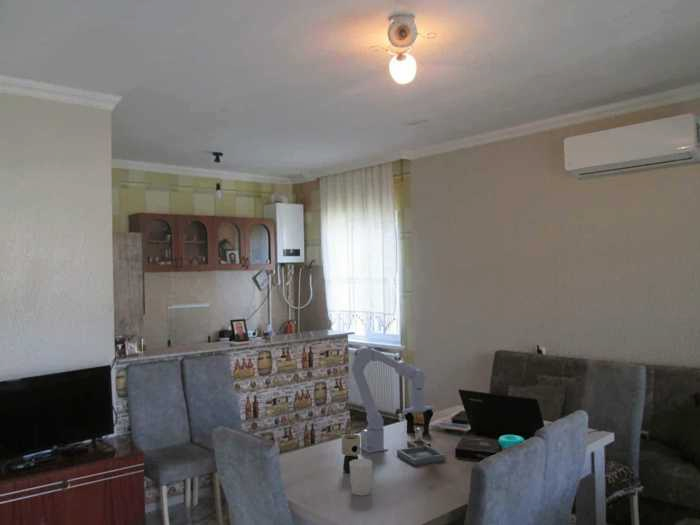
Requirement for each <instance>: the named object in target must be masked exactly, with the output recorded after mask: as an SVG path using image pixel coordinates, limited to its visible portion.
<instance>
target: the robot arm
mask: <svg viewBox="0 0 700 525" xmlns="http://www.w3.org/2000/svg"><path fill="white" fill-rule="evenodd" d="M353 354H354V355H353V359H352V364H351V372H352V375H353V378H354V381H355V383H356V386H357V388H358V392H359V394H360V397H361V400H362V402H363V405H364V409H365V412H366V421H367V422H368V424H367V425H366V428H365V429H362V430H361V432H360V450H363V451H364V452H366V453H367V454H370V453H371V454H372V453H377V452H382V451H383V452H384V451H388V448H387V447H385V440H384V438H385V437H384V436H385V435H384V430H385V429H384V423H385V422H384V418H383V416H382V415H381V413H380V411H378V409H377V408H378V407H377V406H376V403H375V400H374V398H373V394H372V392H371V390H370V387H369V384H368V381H367V378H366V375H365V372H364V370H365V368H366V366H367V365H368V364H369V363H370V362H371V361H372V362H377V361H378V362H381V363H383V364H385V365H386V366H389V367H391V368H393V369H394V372H395V373H396V374H398V375H400V376H401V377H404V378H406V379H407V380H410V382H411V387H410V389H411V390H410V392H411V393H410V394H411V397H410V398H411V406H410V407H409V408H408V407H407V408H402V415H403V417H404V418H405V421H406V424H407V423H408V426H409V430H410V431H413V420H414V416H413V415H412V413H417V414H418V412H420V413H422V412H423V415H424V427H425V428H427V429H428V428H429V429H430V423H431V420H432V417H433V416H434V411H435V406H434V405H426V400H425V398H426V397H425V396H426V395H425V393H426V392H425V381H426V380H427V378H426V375H425V373H424V372H423V371H422V370H420V369H419V368H418V367H417V366H414V365H411V364H410V363H408V361H407V360H404V361H403V360H398V361H397V360H396V359H393V358H391V357H390V356H388V355H386V354H384V353H383V352H381V351H380V350H378V349H375V348H372V347H369V346H367V345H364V344H363V345H360V346H358V348H356V350H355V352H354V353H353Z"/></svg>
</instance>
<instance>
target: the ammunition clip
mask: <svg viewBox="0 0 700 525" xmlns="http://www.w3.org/2000/svg"><path fill="white" fill-rule="evenodd" d="M407 408H410V407H409V406H408V407H407ZM412 415H413V416H414V420H413V431H410V430H409V426H408V423H407V422H406V433H407V434H412V433H414V435H415V428H418V427H419V428H422V434H423V435H422V436H429V435H430V427H429V428H428V429H427V428H425V427H424V415H423V412H418V413H412Z"/></svg>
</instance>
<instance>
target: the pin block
mask: <svg viewBox="0 0 700 525" xmlns="http://www.w3.org/2000/svg"><path fill="white" fill-rule="evenodd" d="M422 441H423V444H416V441H415V439H413V440H407V441H406V445H407V448H411V447H417V446H423V445H427V446H429V447H431V448H432V443H431V442H429V441H427V440H425V439H423V438H422Z"/></svg>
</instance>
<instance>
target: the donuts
mask: <svg viewBox="0 0 700 525" xmlns="http://www.w3.org/2000/svg"><path fill="white" fill-rule="evenodd" d="M498 441H499V443H500V445H502V448H506V449H509V448H508V447H510V446H513V445H515V444H518V443H520V442H523V441H525V442H526V440H525V439H524V437H522V436H521V435H515V434H505V435H501V436H499V438H498Z"/></svg>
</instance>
